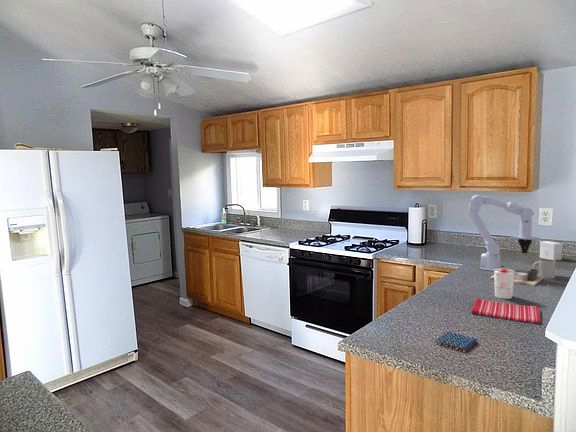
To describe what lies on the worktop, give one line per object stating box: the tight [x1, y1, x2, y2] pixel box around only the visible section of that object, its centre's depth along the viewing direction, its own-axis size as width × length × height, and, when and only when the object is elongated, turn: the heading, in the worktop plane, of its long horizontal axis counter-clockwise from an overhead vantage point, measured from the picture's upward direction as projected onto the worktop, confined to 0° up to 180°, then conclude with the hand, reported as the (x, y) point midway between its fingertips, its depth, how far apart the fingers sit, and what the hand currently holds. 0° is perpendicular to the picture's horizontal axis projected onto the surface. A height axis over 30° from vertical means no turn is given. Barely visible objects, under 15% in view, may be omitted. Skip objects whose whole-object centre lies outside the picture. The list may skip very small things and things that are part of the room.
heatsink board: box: [489, 265, 544, 287], centre depth 203 cm, size 20×16×6 cm
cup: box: [532, 258, 557, 280], centre depth 207 cm, size 7×10×9 cm
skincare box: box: [539, 240, 563, 261], centre depth 246 cm, size 10×6×10 cm, turn 14°
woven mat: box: [434, 331, 479, 353], centre depth 131 cm, size 10×11×2 cm
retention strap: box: [500, 266, 529, 273], centre depth 203 cm, size 16×3×2 cm, turn 45°
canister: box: [493, 268, 515, 300], centre depth 176 cm, size 10×8×12 cm
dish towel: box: [471, 298, 541, 325], centre depth 158 cm, size 17×24×3 cm
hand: (524, 253), depth 218 cm, fingers closed
